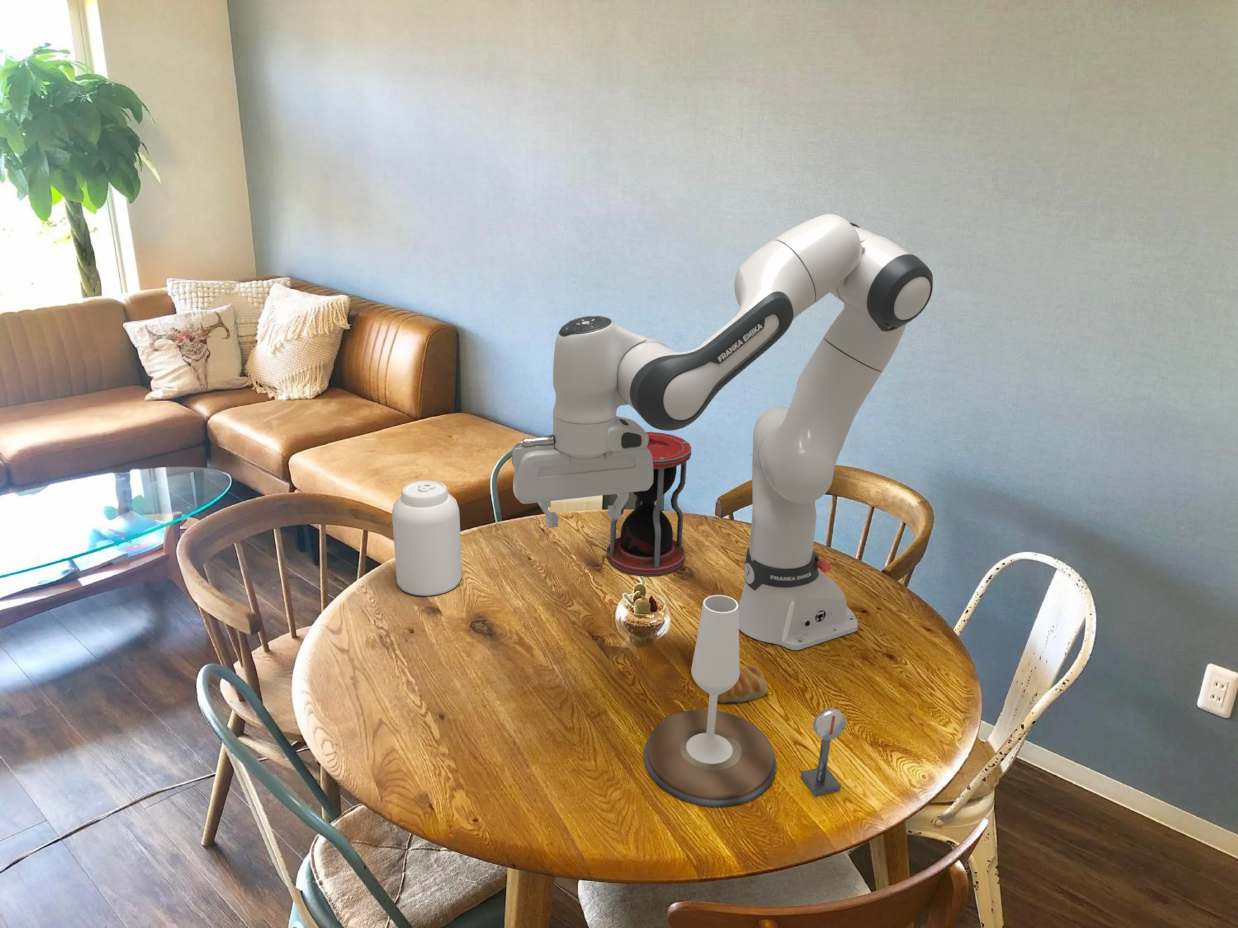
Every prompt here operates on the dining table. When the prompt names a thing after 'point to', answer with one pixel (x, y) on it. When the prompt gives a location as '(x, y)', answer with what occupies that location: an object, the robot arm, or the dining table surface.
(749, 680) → the pastry
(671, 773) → the turntable
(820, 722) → the dial gauge
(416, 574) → the can
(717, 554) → the dining table surface
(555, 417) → the robot arm
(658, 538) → the hourglass
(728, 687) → the champagne flute
